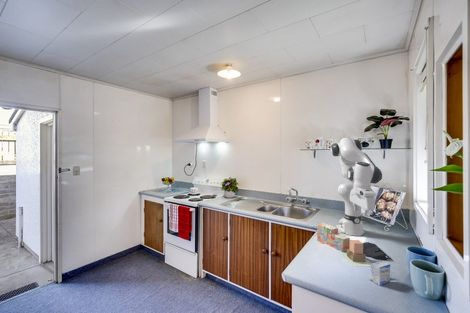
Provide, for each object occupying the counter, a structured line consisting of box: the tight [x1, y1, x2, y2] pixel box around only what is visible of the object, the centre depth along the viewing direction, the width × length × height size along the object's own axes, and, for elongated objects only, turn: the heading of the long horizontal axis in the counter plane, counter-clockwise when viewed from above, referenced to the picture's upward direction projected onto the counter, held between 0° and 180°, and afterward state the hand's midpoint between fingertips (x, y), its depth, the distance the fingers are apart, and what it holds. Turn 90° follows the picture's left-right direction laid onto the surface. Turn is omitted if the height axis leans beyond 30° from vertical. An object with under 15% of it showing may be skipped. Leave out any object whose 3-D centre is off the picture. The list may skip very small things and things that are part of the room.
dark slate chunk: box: [362, 241, 394, 262], centre depth 136 cm, size 15×22×5 cm
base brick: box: [346, 248, 367, 262], centre depth 126 cm, size 7×7×4 cm
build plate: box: [338, 251, 373, 267], centre depth 126 cm, size 16×12×1 cm
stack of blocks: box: [316, 222, 351, 252], centre depth 145 cm, size 21×6×12 cm, turn 23°
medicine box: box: [370, 260, 391, 286], centre depth 106 cm, size 8×4×9 cm, turn 114°
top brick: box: [349, 239, 364, 254], centre depth 126 cm, size 5×5×6 cm
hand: (360, 213), depth 128 cm, fingers open, 8 cm apart
